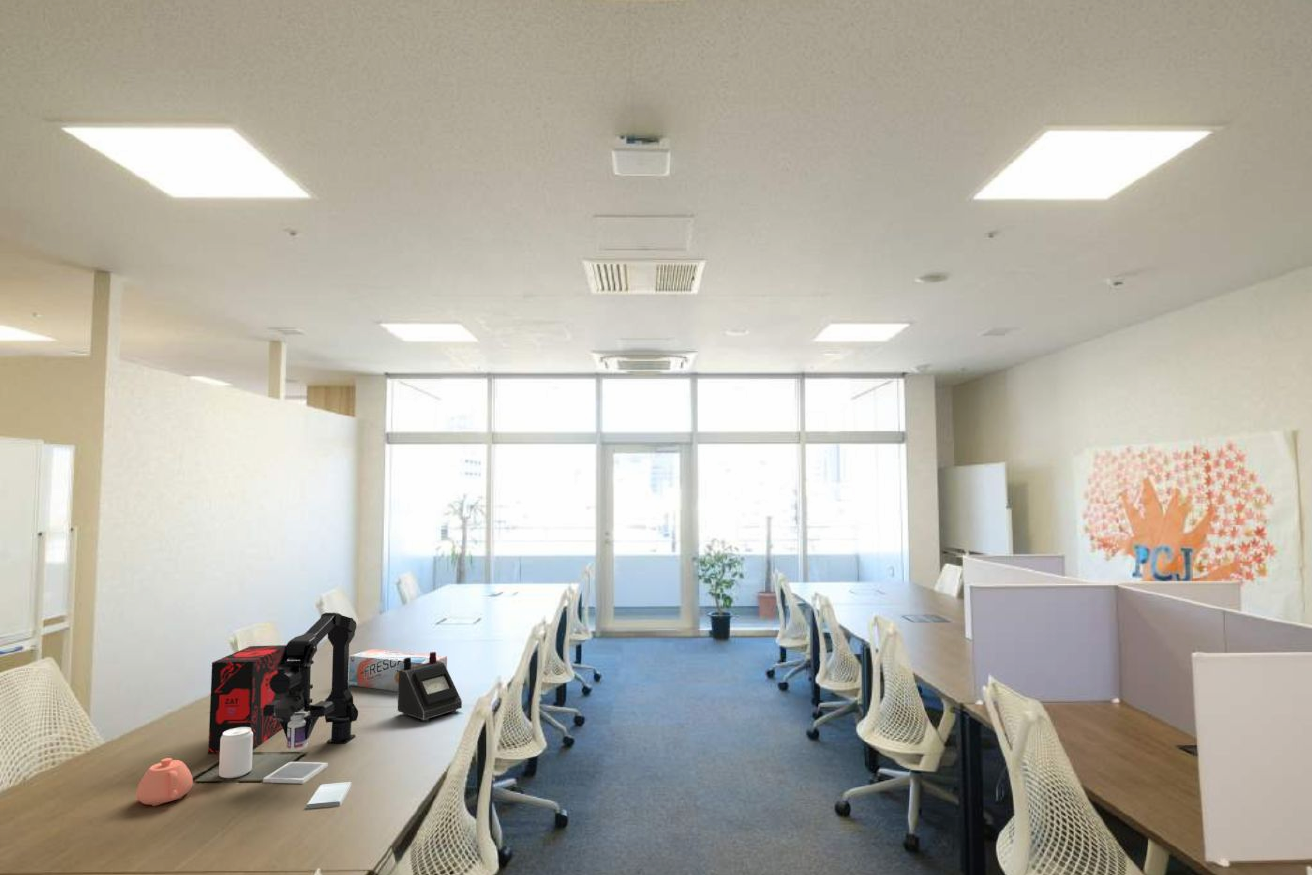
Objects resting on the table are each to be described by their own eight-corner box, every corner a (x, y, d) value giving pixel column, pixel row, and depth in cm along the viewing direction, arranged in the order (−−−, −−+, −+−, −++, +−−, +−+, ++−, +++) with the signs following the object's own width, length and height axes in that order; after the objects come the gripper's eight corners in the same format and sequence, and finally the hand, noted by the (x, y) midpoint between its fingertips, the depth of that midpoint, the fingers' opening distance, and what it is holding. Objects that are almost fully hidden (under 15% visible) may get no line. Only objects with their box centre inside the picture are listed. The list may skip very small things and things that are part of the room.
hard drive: (340, 801, 176) (351, 781, 188) (306, 804, 174) (319, 783, 186) (340, 807, 176) (351, 787, 188) (305, 811, 174) (319, 790, 186)
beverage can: (214, 781, 191) (216, 737, 192) (224, 769, 199) (226, 727, 200) (246, 777, 194) (248, 734, 195) (255, 766, 201) (256, 725, 202)
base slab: (289, 765, 202) (289, 761, 202) (327, 766, 201) (328, 762, 201) (262, 782, 190) (263, 778, 190) (303, 783, 189) (303, 779, 189)
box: (249, 752, 213) (252, 661, 215) (208, 754, 212) (212, 662, 214) (284, 727, 236) (287, 645, 238) (247, 728, 235) (250, 646, 237)
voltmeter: (423, 724, 238) (425, 665, 239) (397, 715, 248) (398, 659, 249) (462, 712, 250) (462, 656, 252) (435, 703, 260) (436, 650, 262)
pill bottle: (311, 743, 199) (312, 709, 200) (302, 750, 194) (303, 715, 195) (292, 744, 199) (293, 710, 200) (283, 751, 194) (284, 716, 194)
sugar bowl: (183, 784, 189) (185, 747, 190) (201, 798, 180) (202, 759, 181) (129, 800, 180) (131, 760, 181) (145, 816, 171) (147, 774, 172)
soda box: (346, 686, 285) (347, 655, 286) (370, 678, 298) (371, 648, 299) (426, 695, 272) (427, 662, 273) (448, 686, 285) (448, 654, 286)
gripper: (250, 691, 191) (248, 748, 190) (313, 692, 189) (311, 750, 188) (276, 680, 202) (274, 733, 201) (335, 681, 200) (334, 735, 199)
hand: (297, 738), depth 197 cm, fingers closed on pill bottle, 5 cm apart
